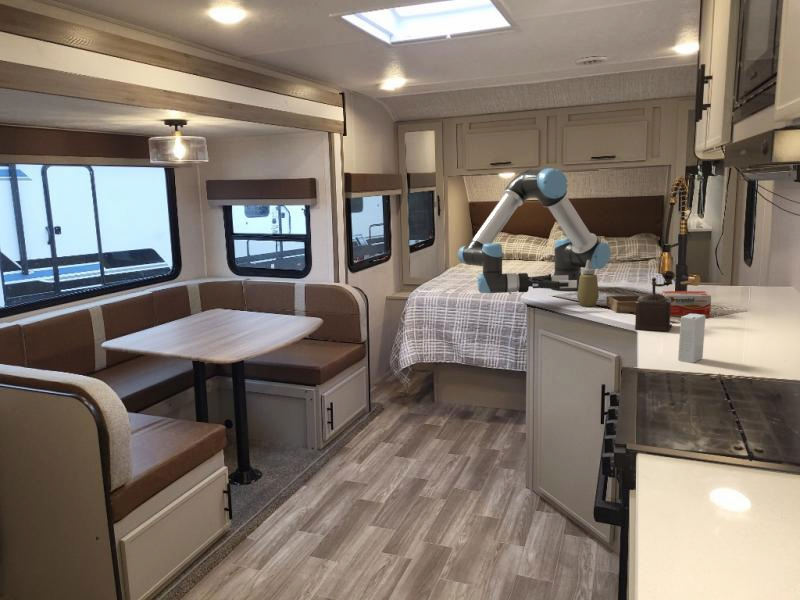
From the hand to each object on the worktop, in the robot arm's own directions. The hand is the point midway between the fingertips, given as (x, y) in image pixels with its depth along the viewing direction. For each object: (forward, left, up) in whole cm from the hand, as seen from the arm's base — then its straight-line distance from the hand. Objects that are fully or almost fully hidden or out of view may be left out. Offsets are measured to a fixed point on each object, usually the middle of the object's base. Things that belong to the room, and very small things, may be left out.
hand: (572, 281), depth 242 cm
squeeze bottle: (0, +6, -10) cm, 12 cm away
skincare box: (+79, +12, -10) cm, 80 cm away
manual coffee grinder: (+38, +18, -10) cm, 43 cm away
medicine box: (+20, +35, -10) cm, 42 cm away
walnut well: (+9, +19, -10) cm, 23 cm away
